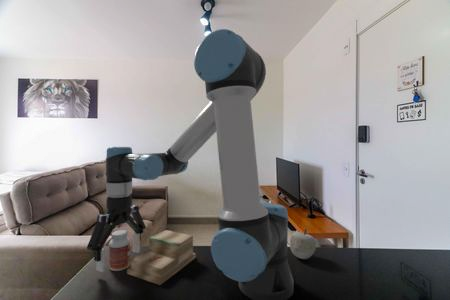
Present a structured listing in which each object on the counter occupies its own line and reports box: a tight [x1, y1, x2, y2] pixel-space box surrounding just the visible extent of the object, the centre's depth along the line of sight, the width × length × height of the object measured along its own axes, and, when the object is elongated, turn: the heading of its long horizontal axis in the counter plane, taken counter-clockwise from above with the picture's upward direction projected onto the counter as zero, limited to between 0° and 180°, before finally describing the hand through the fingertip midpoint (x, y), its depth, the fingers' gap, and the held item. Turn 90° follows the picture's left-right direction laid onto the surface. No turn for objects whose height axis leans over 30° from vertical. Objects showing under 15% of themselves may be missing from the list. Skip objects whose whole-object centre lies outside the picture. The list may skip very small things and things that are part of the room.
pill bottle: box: [108, 229, 131, 272], centre depth 76 cm, size 6×6×11 cm
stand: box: [126, 229, 197, 286], centre depth 77 cm, size 13×18×8 cm
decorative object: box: [289, 228, 317, 260], centre depth 83 cm, size 9×9×10 cm
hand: (119, 260), depth 76 cm, fingers open, 13 cm apart
